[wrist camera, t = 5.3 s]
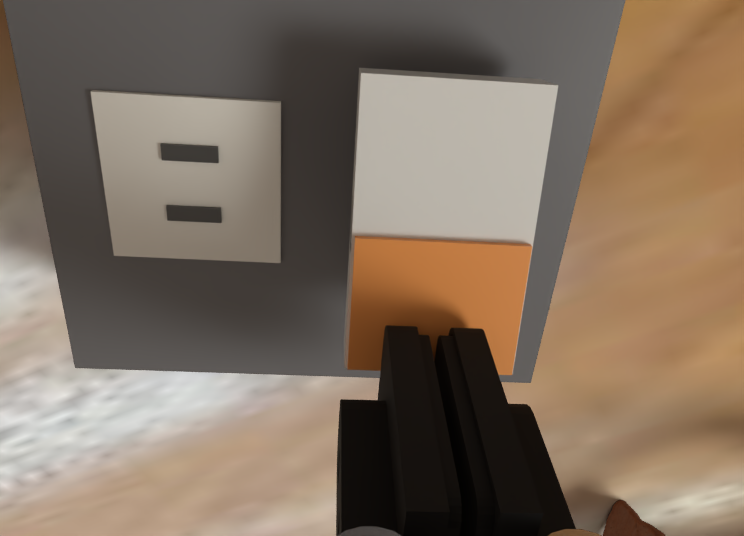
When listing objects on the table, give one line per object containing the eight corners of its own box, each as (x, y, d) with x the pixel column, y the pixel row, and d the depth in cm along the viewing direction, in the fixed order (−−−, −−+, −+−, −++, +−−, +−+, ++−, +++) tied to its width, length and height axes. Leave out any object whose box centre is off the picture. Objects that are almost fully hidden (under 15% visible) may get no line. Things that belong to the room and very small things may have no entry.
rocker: (359, 67, 11) (361, 73, 10) (539, 79, 11) (560, 86, 10) (344, 342, 13) (344, 372, 12) (500, 347, 13) (514, 378, 12)
